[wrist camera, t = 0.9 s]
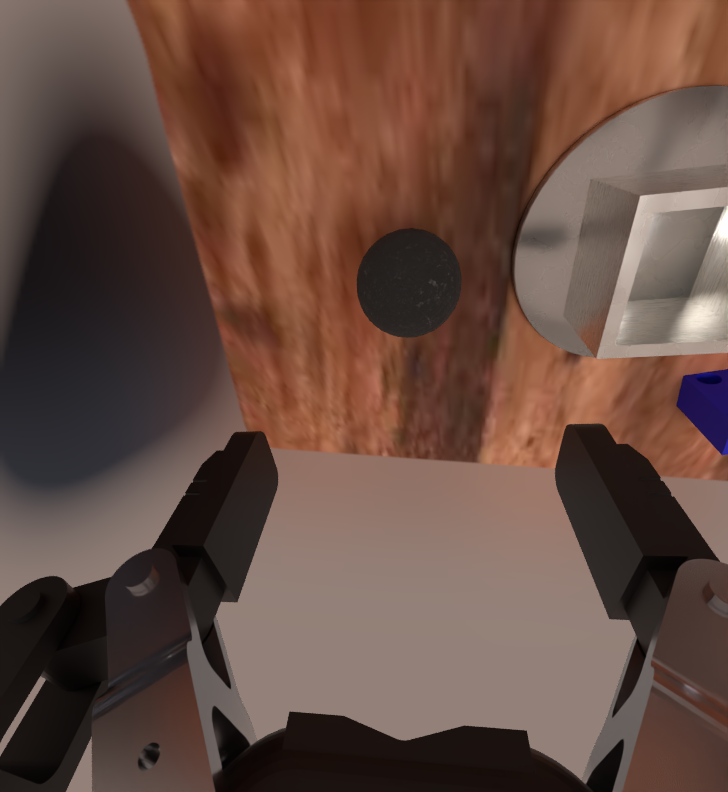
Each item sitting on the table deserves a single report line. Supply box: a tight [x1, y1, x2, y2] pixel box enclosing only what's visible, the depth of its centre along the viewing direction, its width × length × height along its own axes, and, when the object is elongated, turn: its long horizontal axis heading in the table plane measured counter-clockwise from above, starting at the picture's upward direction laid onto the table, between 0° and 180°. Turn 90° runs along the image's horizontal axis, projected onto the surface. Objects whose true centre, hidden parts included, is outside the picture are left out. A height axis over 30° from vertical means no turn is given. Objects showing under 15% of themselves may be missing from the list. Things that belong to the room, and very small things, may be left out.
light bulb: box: [357, 228, 461, 337], centre depth 23 cm, size 6×6×10 cm
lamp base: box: [512, 85, 728, 359], centre depth 22 cm, size 16×16×7 cm
